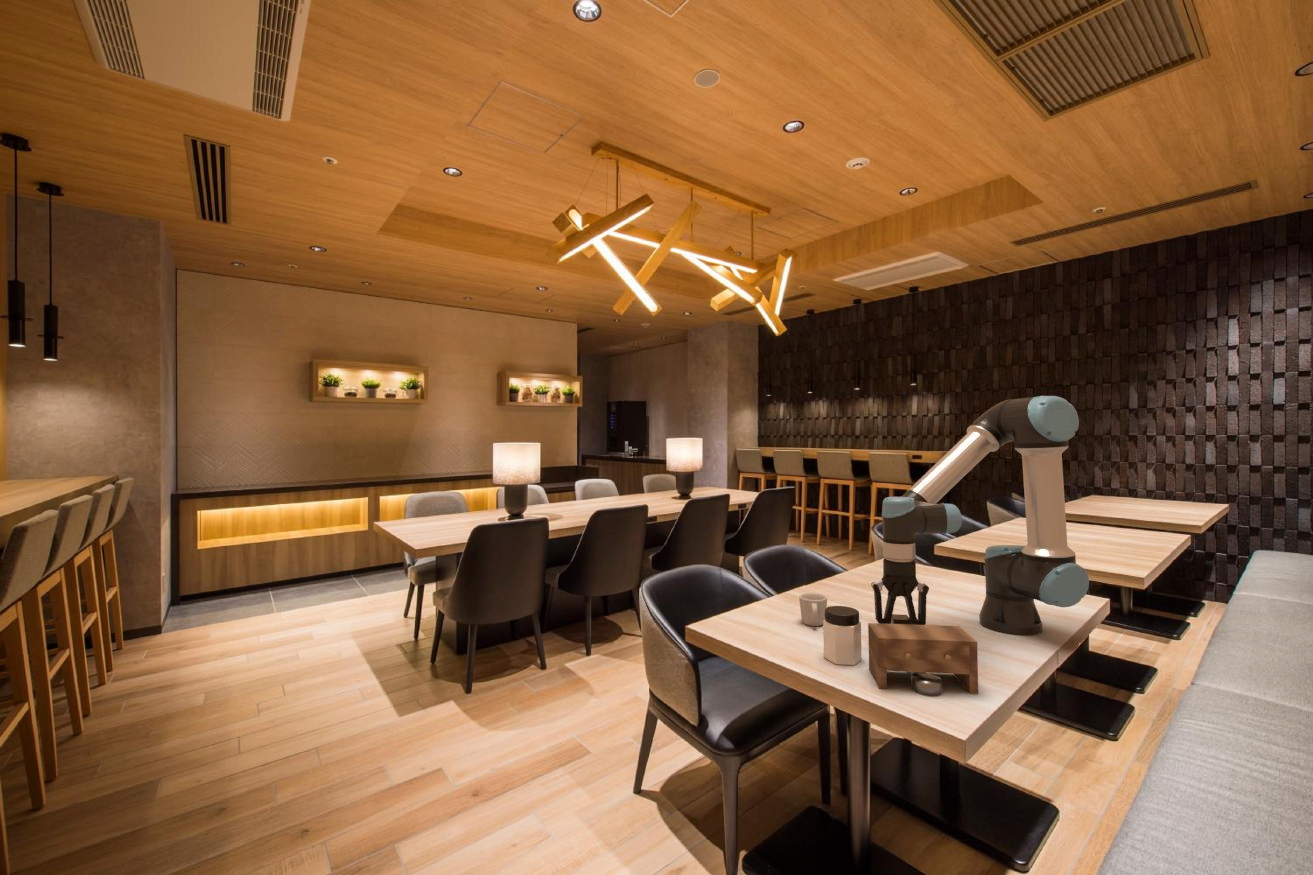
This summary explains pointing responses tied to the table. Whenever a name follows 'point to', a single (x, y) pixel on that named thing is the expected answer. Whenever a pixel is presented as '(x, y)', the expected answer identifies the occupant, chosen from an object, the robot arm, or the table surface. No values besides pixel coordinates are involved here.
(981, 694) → the table surface
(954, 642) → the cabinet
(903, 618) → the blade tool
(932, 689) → the disc
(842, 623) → the jar
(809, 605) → the cup
